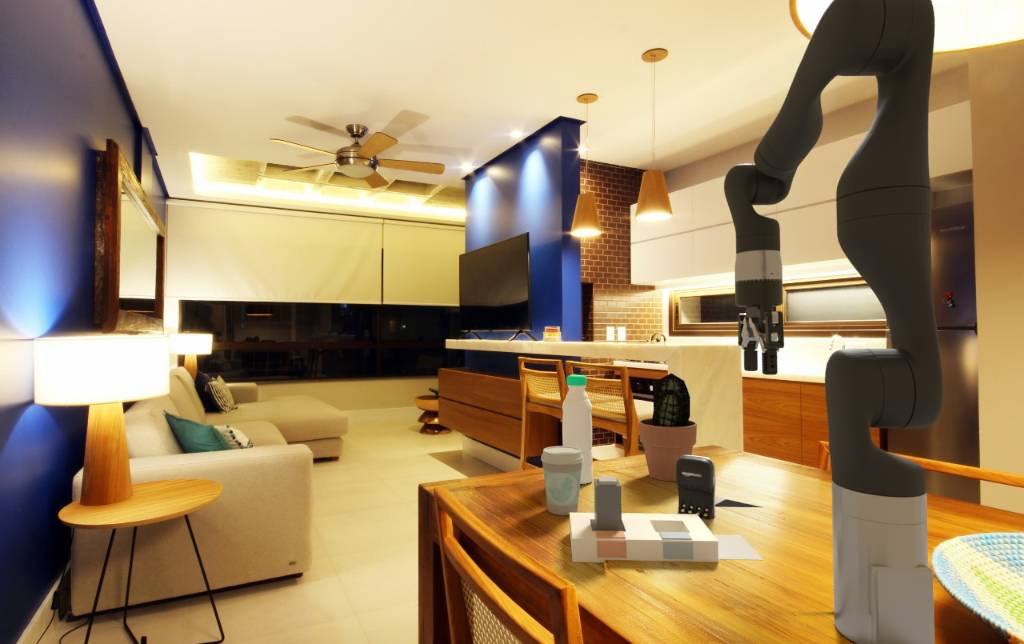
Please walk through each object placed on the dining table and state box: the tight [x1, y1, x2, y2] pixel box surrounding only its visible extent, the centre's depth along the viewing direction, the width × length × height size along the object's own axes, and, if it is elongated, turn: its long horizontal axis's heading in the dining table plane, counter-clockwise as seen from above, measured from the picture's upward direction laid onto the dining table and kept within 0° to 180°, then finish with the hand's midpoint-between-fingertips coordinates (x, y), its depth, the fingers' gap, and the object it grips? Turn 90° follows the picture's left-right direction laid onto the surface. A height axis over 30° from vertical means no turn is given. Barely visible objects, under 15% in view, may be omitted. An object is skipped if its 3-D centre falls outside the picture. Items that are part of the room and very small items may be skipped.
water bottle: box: [561, 374, 594, 485], centre depth 129 cm, size 7×7×25 cm
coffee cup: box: [540, 445, 584, 516], centre depth 108 cm, size 9×8×12 cm
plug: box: [593, 476, 623, 531], centre depth 89 cm, size 4×4×11 cm
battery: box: [675, 454, 717, 520], centre depth 103 cm, size 7×4×11 cm, turn 54°
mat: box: [713, 534, 764, 561], centre depth 88 cm, size 10×8×1 cm
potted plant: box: [638, 372, 698, 482], centre depth 132 cm, size 14×14×25 cm
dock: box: [569, 512, 720, 564], centre depth 89 cm, size 12×22×4 cm, turn 86°
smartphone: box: [715, 496, 785, 521], centre depth 106 cm, size 7×16×1 cm, turn 44°
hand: (759, 372), depth 94 cm, fingers open, 8 cm apart
